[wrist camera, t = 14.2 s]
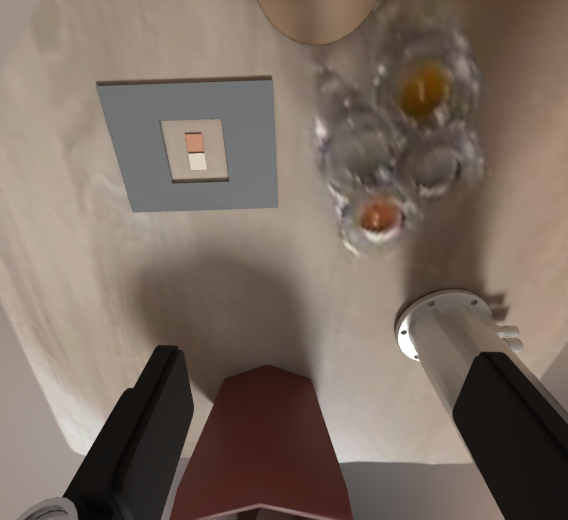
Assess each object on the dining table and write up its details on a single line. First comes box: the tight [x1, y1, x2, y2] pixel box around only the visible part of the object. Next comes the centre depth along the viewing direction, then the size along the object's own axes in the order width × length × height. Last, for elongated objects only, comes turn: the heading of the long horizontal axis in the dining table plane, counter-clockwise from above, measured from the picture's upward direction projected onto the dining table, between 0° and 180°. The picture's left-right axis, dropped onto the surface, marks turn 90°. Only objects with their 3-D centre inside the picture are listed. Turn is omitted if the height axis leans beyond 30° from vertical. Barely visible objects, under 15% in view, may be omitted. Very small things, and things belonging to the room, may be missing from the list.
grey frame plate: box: [96, 80, 278, 212], centre depth 30 cm, size 16×12×1 cm
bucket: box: [169, 364, 354, 520], centre depth 38 cm, size 24×22×25 cm
